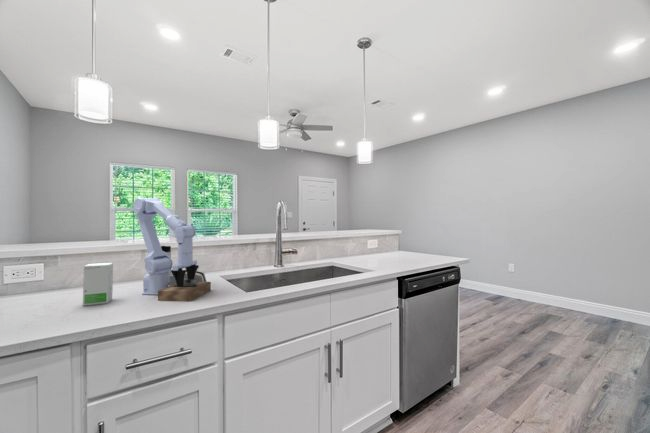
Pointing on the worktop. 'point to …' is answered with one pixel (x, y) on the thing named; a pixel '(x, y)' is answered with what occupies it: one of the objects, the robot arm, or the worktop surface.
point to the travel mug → (168, 250)
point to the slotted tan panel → (183, 292)
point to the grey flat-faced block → (188, 283)
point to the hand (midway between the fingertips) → (185, 283)
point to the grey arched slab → (198, 276)
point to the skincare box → (97, 283)
